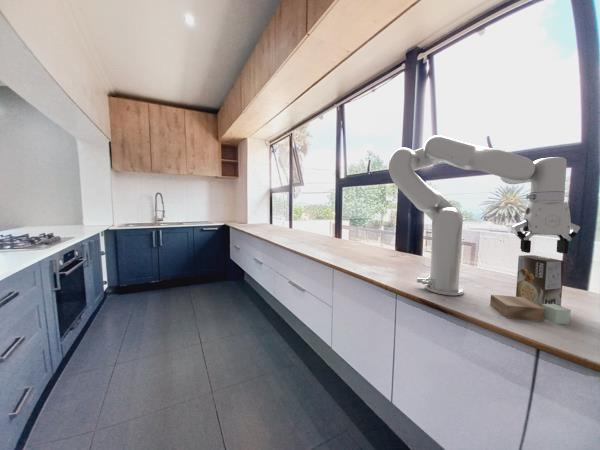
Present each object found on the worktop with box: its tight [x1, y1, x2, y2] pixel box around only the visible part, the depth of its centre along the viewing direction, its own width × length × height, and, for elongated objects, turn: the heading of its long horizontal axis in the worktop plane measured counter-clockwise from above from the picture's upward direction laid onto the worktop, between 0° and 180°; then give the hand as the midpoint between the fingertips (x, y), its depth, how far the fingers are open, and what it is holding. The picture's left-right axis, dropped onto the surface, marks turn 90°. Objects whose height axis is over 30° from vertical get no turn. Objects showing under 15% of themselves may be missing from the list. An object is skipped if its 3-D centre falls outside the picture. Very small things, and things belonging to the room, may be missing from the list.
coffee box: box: [515, 254, 565, 307], centre depth 77 cm, size 9×6×16 cm
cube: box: [542, 304, 572, 325], centre depth 69 cm, size 4×4×4 cm
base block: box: [489, 294, 545, 323], centre depth 73 cm, size 9×9×4 cm
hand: (543, 252), depth 76 cm, fingers open, 9 cm apart
